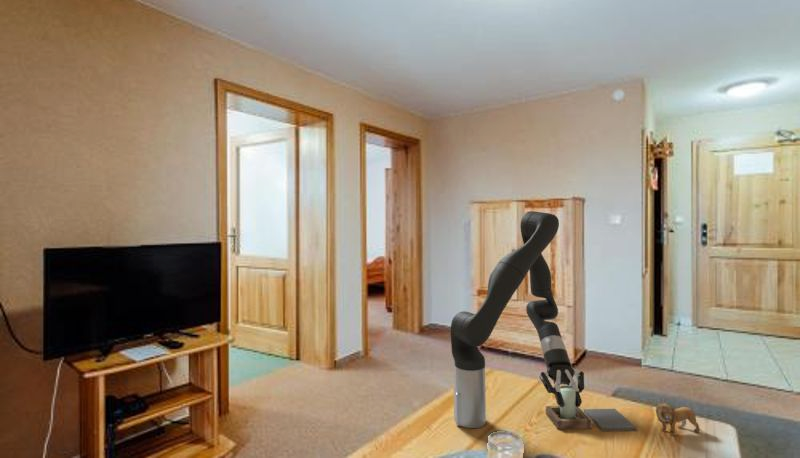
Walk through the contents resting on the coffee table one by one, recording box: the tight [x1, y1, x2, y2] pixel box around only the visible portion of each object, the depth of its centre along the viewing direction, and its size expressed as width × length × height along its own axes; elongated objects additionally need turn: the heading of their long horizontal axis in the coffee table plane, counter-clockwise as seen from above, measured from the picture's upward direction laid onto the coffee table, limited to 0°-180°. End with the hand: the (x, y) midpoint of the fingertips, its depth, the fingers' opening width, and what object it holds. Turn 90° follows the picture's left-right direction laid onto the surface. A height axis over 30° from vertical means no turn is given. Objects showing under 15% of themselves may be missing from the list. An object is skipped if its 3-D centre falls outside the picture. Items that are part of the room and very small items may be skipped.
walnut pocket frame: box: [545, 405, 592, 431], centre depth 126 cm, size 10×10×2 cm
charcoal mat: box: [582, 408, 637, 432], centre depth 126 cm, size 10×12×1 cm
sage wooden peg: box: [559, 385, 577, 419], centre depth 126 cm, size 4×4×10 cm
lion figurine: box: [655, 402, 700, 437], centre depth 119 cm, size 15×5×9 cm, turn 109°
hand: (570, 405), depth 124 cm, fingers closed on sage wooden peg, 4 cm apart
